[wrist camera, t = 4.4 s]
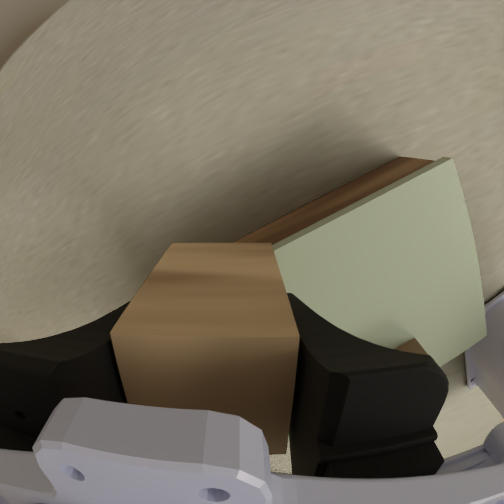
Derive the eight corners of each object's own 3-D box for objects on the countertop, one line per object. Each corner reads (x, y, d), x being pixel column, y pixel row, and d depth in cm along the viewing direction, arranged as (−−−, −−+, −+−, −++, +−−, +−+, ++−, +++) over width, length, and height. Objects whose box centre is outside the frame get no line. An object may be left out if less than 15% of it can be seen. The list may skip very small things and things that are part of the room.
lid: (480, 329, 17) (512, 360, 13) (262, 440, 19) (266, 485, 15) (443, 156, 13) (492, 163, 10) (155, 304, 15) (133, 348, 12)
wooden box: (443, 293, 22) (477, 323, 17) (257, 388, 23) (260, 434, 19) (401, 156, 18) (442, 162, 14) (176, 271, 20) (159, 307, 16)
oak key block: (268, 329, 14) (285, 454, 8) (179, 328, 14) (142, 449, 8) (270, 243, 13) (299, 336, 6) (172, 242, 13) (109, 332, 6)
